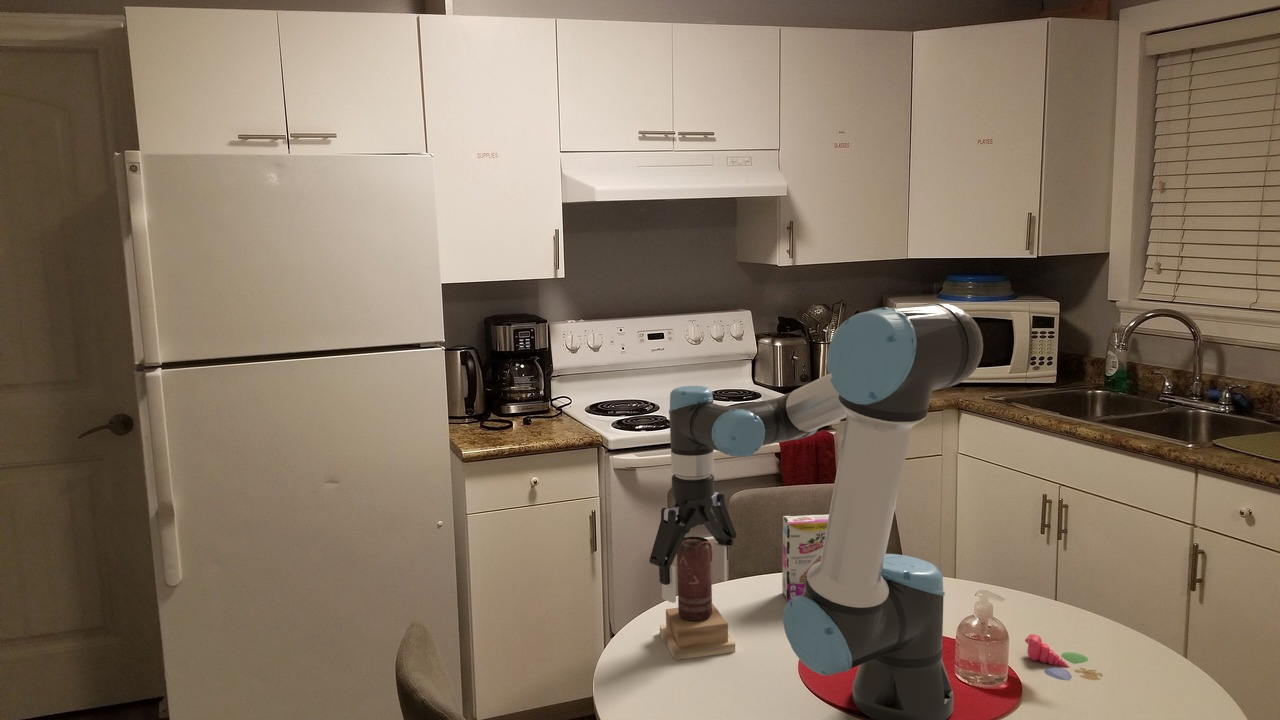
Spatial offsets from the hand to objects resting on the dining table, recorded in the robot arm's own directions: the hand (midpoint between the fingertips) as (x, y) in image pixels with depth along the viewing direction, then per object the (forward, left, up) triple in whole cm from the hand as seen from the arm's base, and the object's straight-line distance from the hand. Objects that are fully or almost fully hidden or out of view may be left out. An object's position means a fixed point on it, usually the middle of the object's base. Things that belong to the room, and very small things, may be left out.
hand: (695, 589), depth 165 cm
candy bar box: (+13, -28, -10) cm, 32 cm away
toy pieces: (-26, -56, -11) cm, 63 cm away
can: (0, 0, -5) cm, 5 cm away
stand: (0, 0, -10) cm, 10 cm away
